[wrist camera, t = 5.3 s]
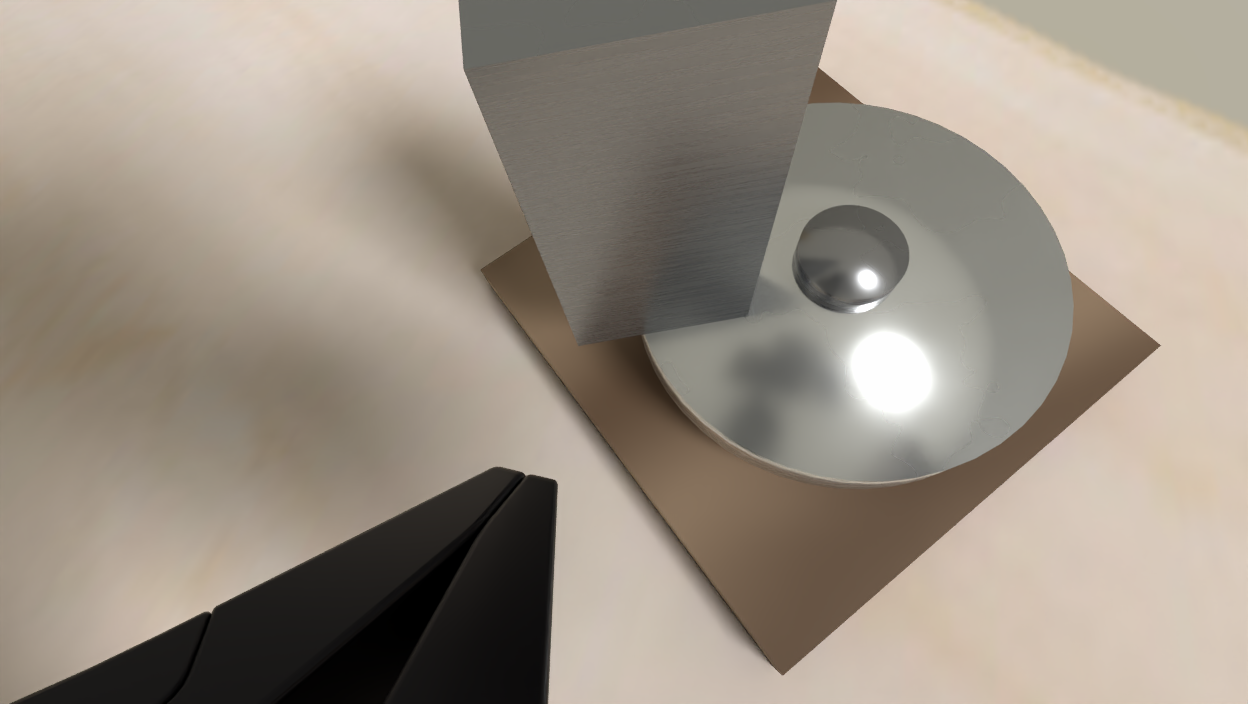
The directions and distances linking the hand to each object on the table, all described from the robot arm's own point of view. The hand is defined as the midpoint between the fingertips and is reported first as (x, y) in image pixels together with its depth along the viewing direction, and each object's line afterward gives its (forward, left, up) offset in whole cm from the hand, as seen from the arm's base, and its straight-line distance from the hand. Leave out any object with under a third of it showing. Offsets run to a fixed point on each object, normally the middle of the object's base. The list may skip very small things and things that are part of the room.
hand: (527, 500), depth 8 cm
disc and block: (+1, -8, -6) cm, 10 cm away
